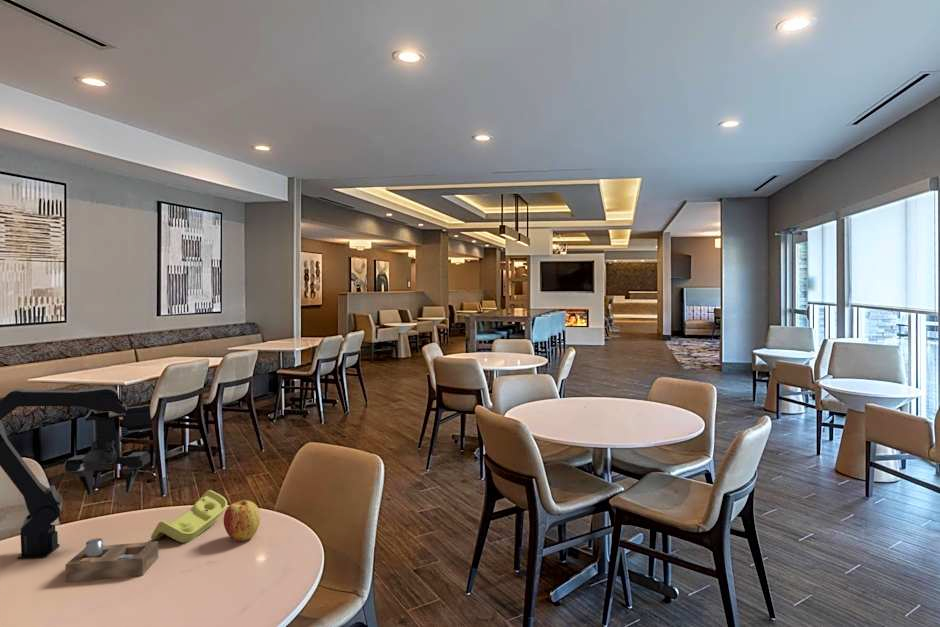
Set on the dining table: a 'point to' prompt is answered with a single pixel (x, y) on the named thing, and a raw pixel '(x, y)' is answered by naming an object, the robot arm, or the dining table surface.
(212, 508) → the plastic component
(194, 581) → the dining table surface
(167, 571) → the dining table surface
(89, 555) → the plug
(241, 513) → the apple
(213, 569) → the dining table surface
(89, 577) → the board
